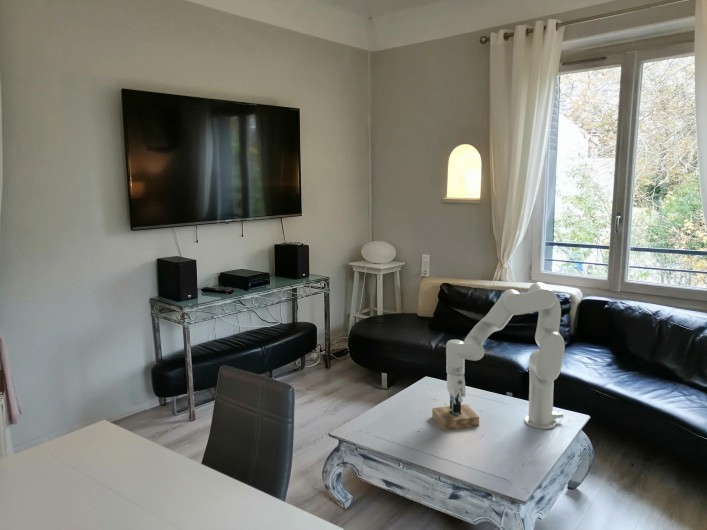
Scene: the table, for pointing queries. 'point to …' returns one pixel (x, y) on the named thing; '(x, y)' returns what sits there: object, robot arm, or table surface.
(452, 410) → the peg
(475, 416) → the hole block
